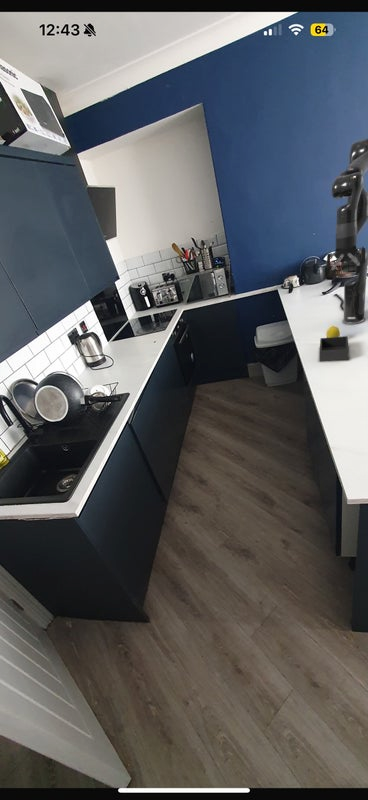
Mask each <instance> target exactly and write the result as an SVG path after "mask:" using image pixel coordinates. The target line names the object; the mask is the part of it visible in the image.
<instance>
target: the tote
mask: <svg viewBox="0 0 368 800" xmlns="http://www.w3.org/2000/svg"><path fill="white" fill-rule="evenodd" d="M319 341H320V342H319V362H338V361H349V357H350V355H349V354H350V353H349V352H350V351H349V349H350V348H349V347H350V346H349V337H348V335H347V336H346V335H345V336H339V337H331V338H327V337H321V338H320V339H319Z"/></svg>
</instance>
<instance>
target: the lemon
mask: <svg viewBox="0 0 368 800" xmlns="http://www.w3.org/2000/svg"><path fill="white" fill-rule="evenodd" d="M331 337H341V333H340V329H339V328H338V327H337V326H335V325H331V326H330V327H329V328H327V330H326V338H331Z"/></svg>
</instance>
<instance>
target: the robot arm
mask: <svg viewBox="0 0 368 800" xmlns="http://www.w3.org/2000/svg"><path fill="white" fill-rule="evenodd" d="M367 171H368V137H366V138H363V139H359V140H357V141H354V142H353V143H352V144H351V145H350V148H349V158H348V166H347V167H346V169H345V171H342V172H341V173H340V174H339V175H338V176H336V177H335V179H334V180H333V182H332V184H331V189H330V192H331V196H332V197H333V199H335V200H340V199H345V198H347V201H346V203H344V204H342V205H340V206H339V207H337V209H336V226H335V235H334V236H335V250H334V252H331V253H330V252H327V255H326V269H327V270H330V271H331V273H330V276H331V278H332V279H333V280H334V279H336V267H338V265H339V263H340V270H341V273H342V274H353V273H355V276H354V277H352V278H350V279H347V280H346V281H345V282H344V283H343V285H344V286H343V290H344V291H343V298H342V297H341V296H339V294H337V293H334V294H333V296H334V297H337V298H338V299H339V300H340V302H341V303H340V305H339V307H340V309H341V310H342V311H343V320H342V321H343V324H347V325H357V324H360V323H362V322H364V321H365V310H366V309H365V307H366V291H367V289H366V288H367V277H368V276H367V275H368V250H366V247H365V246H361V247H359V248H357V244H358V243H357V239H358V235H359V234H360V232H361V231H362V229H363V228H364V227H365V225H366V223H367V222H368V191H367V189H366V188H365V187H364V183H365V178H364V176H365V174H366V172H367ZM333 257H335V261H334V262H333V264H332V265H331V260H332V259H333Z"/></svg>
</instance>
